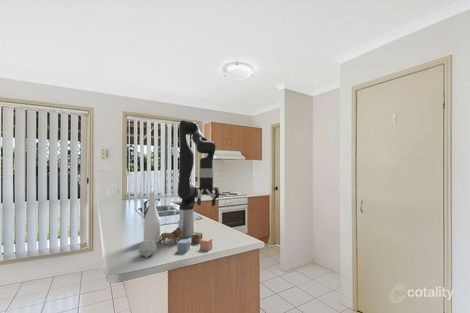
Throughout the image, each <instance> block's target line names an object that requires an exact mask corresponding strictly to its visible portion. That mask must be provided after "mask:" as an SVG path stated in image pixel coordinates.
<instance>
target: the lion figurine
mask: <svg viewBox="0 0 470 313" xmlns="http://www.w3.org/2000/svg"><path fill="white" fill-rule="evenodd" d="M181 235H182V228H181V227H178V226H177V227H176V229H174V230H173V231H172V232H162V233H160V239H159V242H157V243H156V246H157V245H159V244H160V245H162V244H163V245H164V246H168V244H167V243H166V240H173V243H174V245H178V242H177V241H178V240H177V239H180V238H181V237H180V236H181Z"/></svg>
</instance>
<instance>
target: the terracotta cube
mask: <svg viewBox="0 0 470 313" xmlns="http://www.w3.org/2000/svg"><path fill="white" fill-rule="evenodd" d="M212 248H213V238H211V237H202V239H201V240H200V244H199V250H202V251H209V250H211V249H212Z"/></svg>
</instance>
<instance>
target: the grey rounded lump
mask: <svg viewBox="0 0 470 313" xmlns="http://www.w3.org/2000/svg"><path fill="white" fill-rule="evenodd" d="M156 249H157V243H154V242H153V241H152V240H150V239H146V240H144V239H143V240H142V241H141V242H140V244H139V245H138V252H137V253H139V254H140V255H141V256H143V257H145V258H148V256H149V257H150V256H151V255H153V254H154V253H155V252H156Z"/></svg>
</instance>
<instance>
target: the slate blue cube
mask: <svg viewBox="0 0 470 313" xmlns="http://www.w3.org/2000/svg"><path fill="white" fill-rule="evenodd" d="M190 246H191V245H190V239H179V241H178V242H177V253H185V252H186V253H188V252H189V250H190Z"/></svg>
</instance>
